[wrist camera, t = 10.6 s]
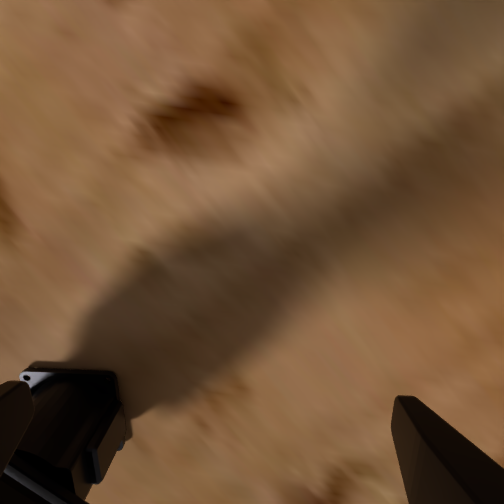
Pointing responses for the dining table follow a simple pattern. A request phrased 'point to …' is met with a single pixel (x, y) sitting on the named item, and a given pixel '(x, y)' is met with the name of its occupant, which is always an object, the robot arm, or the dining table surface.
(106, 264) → the dining table surface
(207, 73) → the dining table surface
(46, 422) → the robot arm
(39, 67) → the dining table surface
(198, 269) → the dining table surface
